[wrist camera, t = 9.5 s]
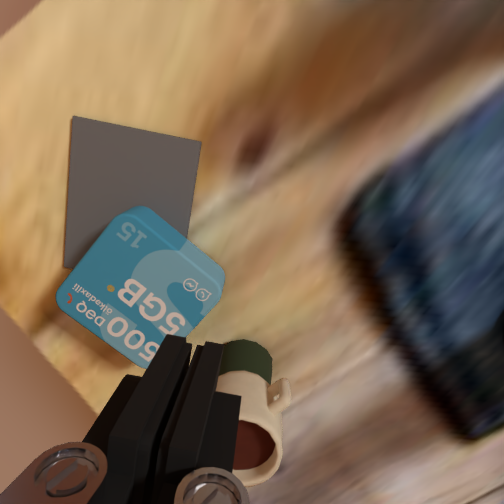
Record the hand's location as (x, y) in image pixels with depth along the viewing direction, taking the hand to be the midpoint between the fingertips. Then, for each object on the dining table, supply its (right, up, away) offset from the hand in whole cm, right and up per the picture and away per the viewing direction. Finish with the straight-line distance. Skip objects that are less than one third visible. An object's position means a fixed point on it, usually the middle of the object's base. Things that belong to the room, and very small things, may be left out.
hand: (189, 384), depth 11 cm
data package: (-5, +5, +25) cm, 26 cm away
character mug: (+1, -8, +31) cm, 33 cm away
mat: (-10, +8, +27) cm, 30 cm away
